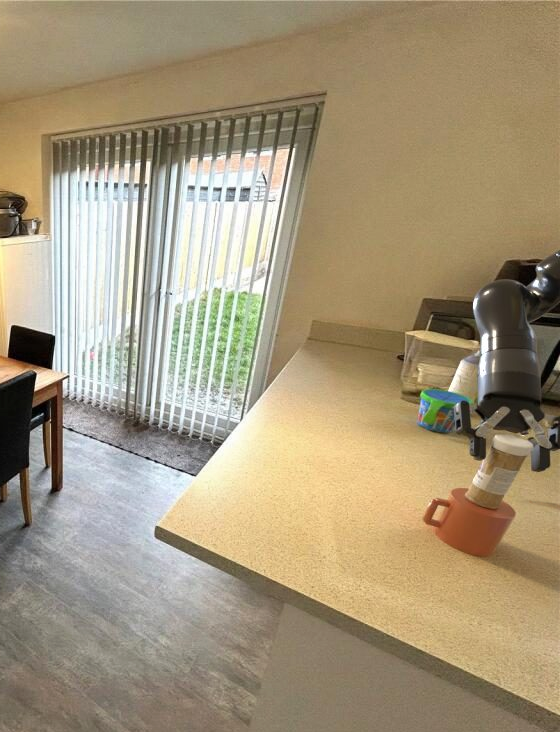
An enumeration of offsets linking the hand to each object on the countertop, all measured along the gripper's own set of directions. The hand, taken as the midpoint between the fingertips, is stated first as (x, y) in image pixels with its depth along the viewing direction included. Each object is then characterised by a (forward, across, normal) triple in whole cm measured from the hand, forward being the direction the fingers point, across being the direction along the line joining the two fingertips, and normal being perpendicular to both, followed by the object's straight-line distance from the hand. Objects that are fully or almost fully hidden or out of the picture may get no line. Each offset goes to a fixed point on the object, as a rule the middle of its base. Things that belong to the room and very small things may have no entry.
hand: (508, 464), depth 67 cm
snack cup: (-25, +8, +52) cm, 58 cm away
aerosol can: (-37, +17, +63) cm, 75 cm away
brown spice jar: (+6, 0, +8) cm, 10 cm away
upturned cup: (+12, -1, +14) cm, 18 cm away
